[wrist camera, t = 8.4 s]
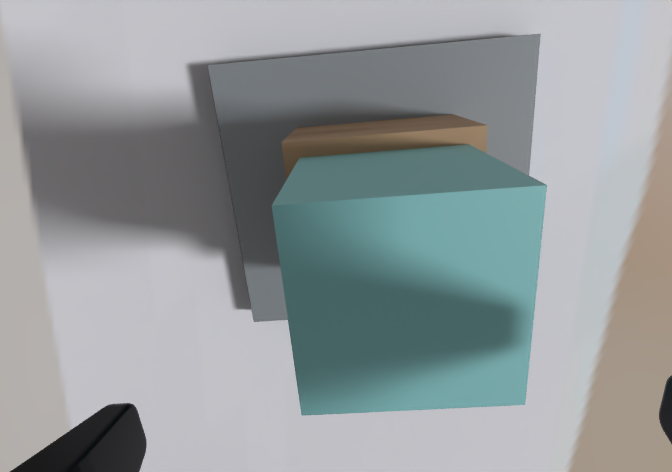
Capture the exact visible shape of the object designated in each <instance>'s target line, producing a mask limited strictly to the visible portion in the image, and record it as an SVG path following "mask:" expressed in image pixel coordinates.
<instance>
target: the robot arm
mask: <svg viewBox="0 0 672 472" xmlns="http://www.w3.org/2000/svg"><path fill="white" fill-rule="evenodd" d="M659 419H660V423H661V426H662V428H663V431H664V432H665V434H666V435H667V437H668V439H669V440H670V442H671V444H672V376H670V377H669V378H668V380H667V382H666V386H665V390H664V394H663V398H662V402H661V406H660V411H659ZM145 452H146V437H145V433H144V430H143V427H142V424H141V421H140V418H139V414H138V411H137V409H136V407H135V406H134V405H133V404H130V403H122V404H110V405H107V406H106V407H104V408H102V409H101V410H100V411H98V412H97V413H95V414H94V415H92V416H91V417H89V418H88V419H86V420H85V421H83V422H82V423H81V424H79V425H78V426H76V427H75V428H73V429H72V430H70V431H69V432H67V433H66V434H65V435H63V436H62V437H60V438H59V439H57V440H56V441H54V442H53V443H51V444H50V445H48V446H47V447H46V448H44V449H43V450H41V451H40V452H38V453H37V454H35V455H34V456H32V457H31V458H29V459H28V460H27V461H25V462H24V463H22V464H21V465H19V466H18V467H16V468H15V469H13V470H12V471H10V472H139V471H140V468H141V465H142V462H143V459H144V456H145Z"/></svg>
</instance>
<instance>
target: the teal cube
mask: <svg viewBox="0 0 672 472" xmlns="http://www.w3.org/2000/svg"><path fill="white" fill-rule="evenodd" d="M546 188H547V185H546V184H544V183H542V182H540V181H538V180H536V179H534V178H532V177H530V176H528V175H527V174H525V173H523V172H521V171H519V170H517V169H515V168H513V167H511V166H509V165H508V164H506V163H504V162H502V161H500V160H498V159H496V158H494V157H492V156H490V155H488V154H487V153H485V152H483V151H481V150H479V149H477V148H475V147H473V146H471V145H469V144H467V145H454V146H441V147H429V148H416V149H404V150H391V151H378V152H366V153H353V154H341V155H328V156H315V157H303V158H299V160H298V161H297V163H296V165H295V167H294V168H293V170H292V172H291V173H290V175H289V177H288V178H287V180H286V182H285V184H284V185H283V187H282V189H281V190H280V192H279V194H278V196H277V197H276V199H275V201H274V202H273V204H272V211H273V218H274V225H275V232H276V239H277V246H278V253H279V260H280V267H281V274H282V281H283V288H284V295H285V302H286V309H287V316H288V323H289V330H290V337H291V344H292V351H293V358H294V365H295V372H296V379H297V386H298V393H299V400H300V407H301V414H302V415H322V414H343V413H363V412H384V411H405V410H426V409H446V408H467V407H488V406H509V405H525V399H526V389H527V379H528V369H529V359H530V349H531V339H532V329H533V319H534V309H535V299H536V289H537V279H538V269H539V259H540V249H541V239H542V228H543V218H544V208H545V198H546Z"/></svg>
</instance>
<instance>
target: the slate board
mask: <svg viewBox="0 0 672 472" xmlns="http://www.w3.org/2000/svg"><path fill="white" fill-rule="evenodd" d="M539 45H540V34H532V35H522V36H511V37H500V38H490V39H479V40H469V41H458V42H447V43H437V44H426V45H416V46H405V47H394V48H384V49H373V50H363V51H352V52H341V53H331V54H320V55H309V56H299V57H288V58H278V59H267V60H256V61H246V62H235V63H225V64H214V65H208V70H209V76H210V81H211V87H212V92H213V98H214V103H215V109H216V114H217V120H218V126H219V131H220V137H221V142H222V148H223V153H224V159H225V164H226V170H227V176H228V181H229V187H230V192H231V198H232V203H233V209H234V214H235V220H236V226H237V231H238V237H239V242H240V248H241V253H242V259H243V264H244V270H245V276H246V281H247V287H248V292H249V298H250V303H251V309H252V314H253V320H254V322H259V321H275V320H288V316H287V309H286V302H285V295H284V288H283V281H282V274H281V267H280V260H279V253H278V246H277V239H276V232H275V225H274V218H273V211H272V204H273V202H274V201H275V199H276V197H277V196H278V194H279V192H280V190H281V189H282V187H283V185H284V184H285V182H286V175H285V167H284V159H283V151H282V144H281V142H282V141H283V140H284V139H285V138H286V137H288V136H289V135H290V134H291V133H292V132H293V131H294V130H295V129H296V128H299V127H311V126H323V125H334V124H346V123H358V122H370V121H381V120H393V119H405V118H416V117H428V116H440V115H451V114H454V115H457V116H460V117H463V118H467V119H470V120H473V121H476V122H479V123H482V124H485V125H488V126H487V149H486V153H487V154H488V155H490V156H492V157H494V158H496V159H498V160H500V161H502V162H504V163H506V164H508V165H509V166H511V167H513V168H515V169H517V170H519V171H521V172H523V173H525V174H527V175H528V176H529V169H530V156H531V144H532V131H533V119H534V107H535V94H536V82H537V70H538V57H539Z"/></svg>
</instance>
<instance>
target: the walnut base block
mask: <svg viewBox="0 0 672 472" xmlns="http://www.w3.org/2000/svg"><path fill="white" fill-rule="evenodd" d="M487 126H488V125H485V124H482V123H479V122H476V121H473V120H470V119H467V118H463V117H460V116H457V115H454V114H451V115H440V116H428V117H416V118H405V119H393V120H381V121H370V122H358V123H346V124H334V125H323V126H311V127H299V128H296V129H295V130H294V131H293V132H292V133H291V134H290V135H289V136H288V137H286V138H285V139H284V140H283V141H282V142H281V144H282V151H283V159H284V167H285V175H286V180H287V178H288V177H289V175H290V173H291V172H292V170H293V168H294V167H295V165H296V163H297V161H298V160H299V158H303V157H315V156H328V155H341V154H353V153H366V152H378V151H391V150H404V149H416V148H429V147H441V146H454V145H467V144H469V145H471V146H473V147H475V148H477V149H479V150H481V151H483V152H485V153H486V149H487Z"/></svg>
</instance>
